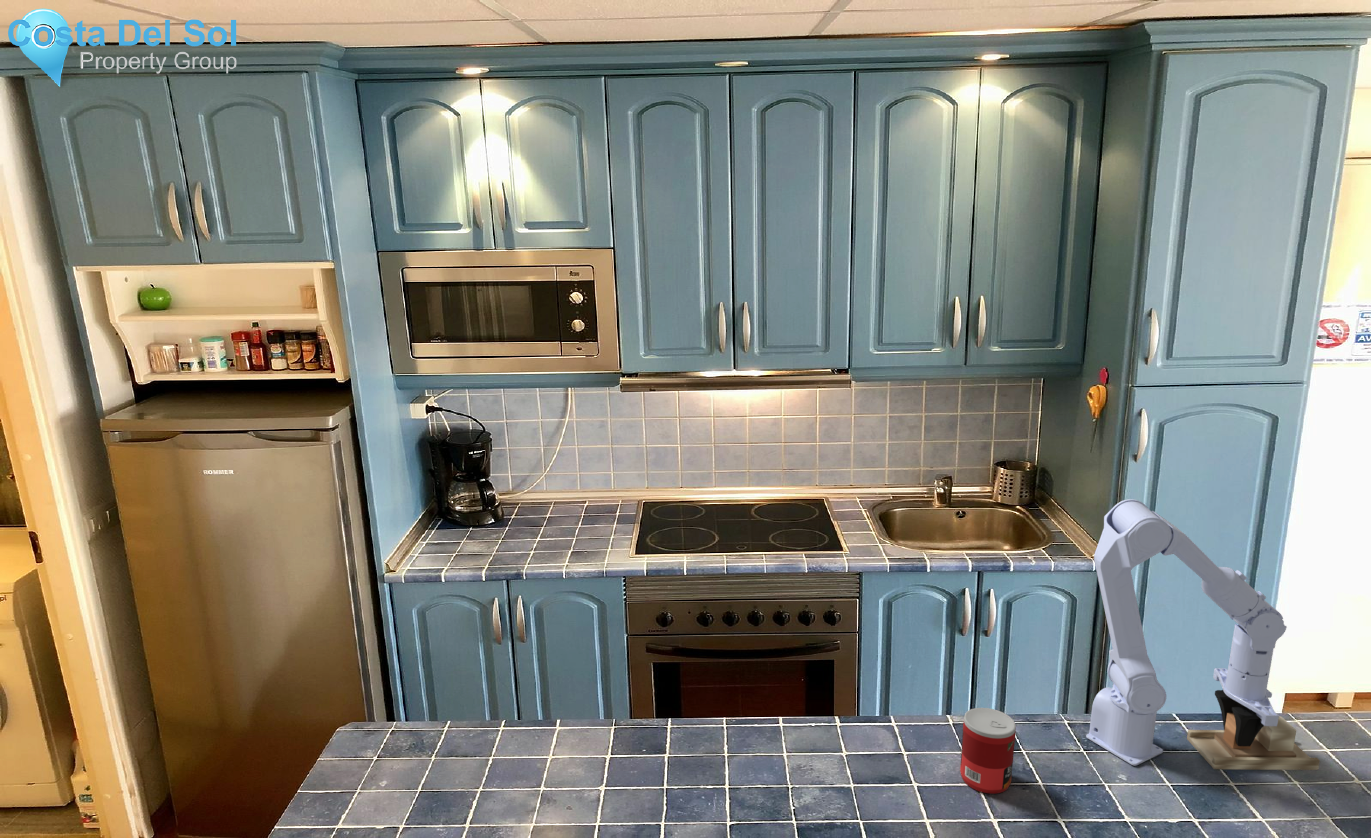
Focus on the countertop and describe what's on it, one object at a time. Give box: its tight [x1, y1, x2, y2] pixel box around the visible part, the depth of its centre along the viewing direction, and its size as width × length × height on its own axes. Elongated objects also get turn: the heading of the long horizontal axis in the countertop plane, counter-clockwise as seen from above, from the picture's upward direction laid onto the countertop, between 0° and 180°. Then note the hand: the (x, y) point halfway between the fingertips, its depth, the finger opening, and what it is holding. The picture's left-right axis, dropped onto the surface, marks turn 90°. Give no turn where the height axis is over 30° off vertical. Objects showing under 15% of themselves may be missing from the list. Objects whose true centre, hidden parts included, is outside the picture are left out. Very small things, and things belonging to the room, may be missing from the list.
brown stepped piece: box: [1214, 713, 1296, 758], centre depth 144 cm, size 10×6×6 cm, turn 88°
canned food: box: [959, 707, 1017, 795], centre depth 138 cm, size 8×8×11 cm
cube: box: [1255, 715, 1297, 751], centre depth 144 cm, size 4×4×4 cm
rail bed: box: [1186, 729, 1321, 771], centre depth 145 cm, size 17×8×2 cm, turn 88°
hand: (1237, 739), depth 145 cm, fingers closed on brown stepped piece, 3 cm apart
